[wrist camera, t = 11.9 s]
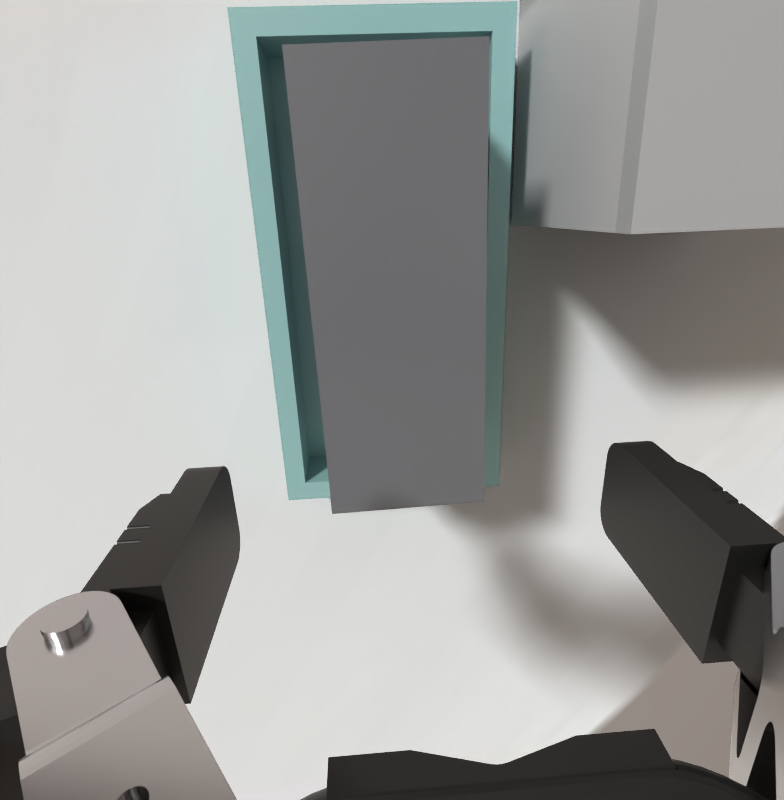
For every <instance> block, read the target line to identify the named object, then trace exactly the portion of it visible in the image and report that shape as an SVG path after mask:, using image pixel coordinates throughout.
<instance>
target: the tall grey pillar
mask: <svg viewBox="0 0 784 800" xmlns="http://www.w3.org/2000/svg"><path fill="white" fill-rule="evenodd" d="M282 49H283V59H284V68H285V77H286V86H287V96H288V105H289V114H290V124H291V133H292V142H293V152H294V161H295V170H296V180H297V189H298V198H299V208H300V217H301V226H302V236H303V245H304V254H305V264H306V273H307V282H308V292H309V301H310V310H311V319H312V329H313V338H314V347H315V357H316V366H317V375H318V385H319V394H320V403H321V413H322V422H323V431H324V441H325V450H326V459H327V469H328V478H329V487H330V497H331V506H332V514H336V513H348V512H361V511H373V510H385V509H397V508H409V507H422V506H434V505H446V504H458V503H471V502H483V501H484V457H485V372H486V287H487V202H488V116H489V36H481V37H457V38H432V39H408V40H383V41H358V42H334V43H309V44H284V45H282Z"/></svg>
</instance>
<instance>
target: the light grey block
mask: <svg viewBox="0 0 784 800" xmlns="http://www.w3.org/2000/svg"><path fill="white" fill-rule="evenodd" d="M511 224H514V225H526V226H538V227H550V228H562V229H574V230H585V231H597V232H609V233H621V234H649V233H671V232H693V231H716V230H738V229H761V228H783V227H784V0H520V21H519V46H518V71H517V97H516V122H515V147H514V172H513V197H512V223H511Z"/></svg>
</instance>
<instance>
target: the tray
mask: <svg viewBox="0 0 784 800" xmlns="http://www.w3.org/2000/svg"><path fill="white" fill-rule="evenodd" d="M228 16H229V24H230V32H231V40H232V48H233V56H234V64H235V72H236V80H237V88H238V96H239V104H240V112H241V120H242V128H243V136H244V144H245V152H246V160H247V168H248V176H249V184H250V192H251V200H252V208H253V216H254V224H255V233H256V241H257V249H258V257H259V265H260V273H261V281H262V289H263V297H264V305H265V313H266V321H267V329H268V337H269V345H270V353H271V361H272V369H273V377H274V385H275V393H276V401H277V409H278V417H279V425H280V433H281V441H282V450H283V458H284V466H285V474H286V482H287V490H288V498H289V500H299V499H313V498H328V497H330V487H329V478H328V469H327V459H326V450H325V441H324V431H323V422H322V413H321V403H320V394H319V385H318V375H317V366H316V357H315V347H314V338H313V329H312V319H311V310H310V301H309V292H308V282H307V273H306V264H305V254H304V245H303V236H302V226H301V217H300V208H299V198H298V189H297V180H296V170H295V161H294V152H293V142H292V133H291V124H290V114H289V105H288V96H287V86H286V77H285V68H284V59H283V49H282V45H284V44H309V43H334V42H358V41H383V40H408V39H432V38H457V37H481V36H489V116H488V202H487V287H486V372H485V457H484V487H488V486H499V469H500V443H501V417H502V391H503V364H504V338H505V312H506V285H507V259H508V233H509V206H510V180H511V154H512V127H513V101H514V75H515V48H516V22H517V1H509V2H463V3H415V4H369V5H321V6H274V7H228Z"/></svg>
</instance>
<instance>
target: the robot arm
mask: <svg viewBox="0 0 784 800" xmlns="http://www.w3.org/2000/svg"><path fill="white" fill-rule="evenodd" d="M601 520H602V525H603V528H604V531H605V533H606V535H607V537H608V538H609V539H610V541H611V542H612V543H613V545H614V546H615V547H616V549H617V550H618V552H619V553H620V554H621V556H622V557H623V558H624V560H625V561H626V562H627V564H628V565H629V566H630V568H631V569H632V570H633V572H634V573H635V574H636V576H637V577H638V578H639V580H640V581H641V582H642V584H643V585H644V586H645V588H646V589H647V590H648V592H649V593H650V594H651V596H652V597H653V598H654V600H655V601H656V602H657V604H658V605H659V606H660V608H661V609H662V610H663V612H664V613H665V615H666V616H667V617H668V619H669V620H670V621H671V623H672V624H673V625H674V627H675V628H676V629H677V631H678V632H679V633H680V635H681V636H682V637H683V639H684V640H685V641H686V643H687V644H688V645H689V647H690V648H691V649H692V650H693V652H694V653H695V655H696V656H697V657H698V659H699V660H700V661H701V663H715V662H725V661H726V662H727V661H733V662H734V663H735V664H736V665H737V667H738V668H739V670H738V673H737V677H736V680H735V685H734V700H733V718H732V735H731V753H730V771H729V778H728V777H725V776H723V775H721V774H718V773H716V772H713V771H711V770H708V769H706V768H703V767H700V766H697V765H693V764H690V763H686V762H683V761H679V760H674V759H671V757H670V756H669V754H668V752H667V750H666V749H665V747H664V745H663V743H662V741H661V740H660V738H659V736H658V734H657V733H656V731H655V729H647V730H636V731H624V732H613V733H601V734H590V735H578V736H574V737H572V738H569V739H566V740H564V741H561V742H559V743H556V744H554V745H551V746H549V747H546V748H544V749H541V750H539V751H536V752H533V753H531V754H528V755H526V756H523V757H521V758H518V759H516V760H513V761H511V762H508V763H505V764H499V765H494V764H486V763H480V762H475V761H469V760H463V759H458V758H452V757H446V756H440V755H435V754H429V753H423V752H418V751H412V750H407V751H396V752H384V753H373V754H362V755H350V756H339V757H329V758H328V777H327V788H325V789H323V790H320V791H317V792H315V793H312V794H310V795H309V796H307V797H305V798H303V799H301V800H784V536H783V535H782V534H780V533H779V532H778V531H777V530H775V529H774V528H773V527H772V526H770V525H769V524H768V523H766V522H765V521H764V520H763V519H761V518H760V517H759V516H757V515H756V514H755V513H754V512H752V511H751V510H750V509H749V508H747V507H746V506H745V505H743V504H739V503H738V500H737V499H736V498H735V497H733V496H732V495H731V494H729V493H728V492H727V491H723V488H722V487H721V486H719V485H718V484H717V483H715V482H714V481H713V480H712V479H710V478H709V477H708V476H707V475H705V474H704V473H702V472H699V471H697V470H695V469H693V468H691V467H688V466H686V465H684V464H682V463H680V462H677V461H676V460H675V459H673V458H672V457H671V456H670V455H668V454H667V453H666V452H665V451H664V450H662V449H661V448H660V447H659V446H657V445H656V444H655V443H653V442H651V441H640V442H624V443H614V444H612V445H611V446H610V448H609V450H608V454H607V461H606V469H605V477H604V485H603V492H602V500H601ZM239 552H240V532H239V526H238V520H237V514H236V508H235V502H234V497H233V491H232V485H231V479H230V475H229V472H228V469H227V468H226V467H225V466H222V467H205V468H189V469H187V470H186V471H185V472H184V473H183V475H182V477H181V478H180V480H179V481H178V483H177V484H176V486H175V488H174V489H173V491H172V492H171V494H160V495H159V496H157V497H156V498H155V499H153V500H152V501H150V502H149V503H148V504H146V505H145V506H144V507H142V508H141V509H139V511H138V512H137V514H136V515H135V516H134V518H133V519H132V521H131V522H130V523H129V525H128V526H127V530H125V531H124V532H123V533H122V535H121V536H120V538H119V539H118V540H117V545H114V546H113V547H112V549H111V550H110V552H109V553H108V554H107V556H106V557H105V559H104V560H103V562H102V563H101V564H100V566H99V567H98V569H97V570H96V571H95V573H94V574H93V576H92V577H91V578H90V580H89V581H88V583H87V584H86V586H85V587H84V588H83V590H82V591H81V593H77V594H73V595H70V596H66V597H64V598H61V599H59V600H56V601H54V602H52V603H50V604H48V605H46V606H45V607H43V608H41V609H39V610H38V611H37V612H35V613H34V614H32V615H31V616H30V617H28V618H27V619H26V620H25V621H24V622H23V623H22V624H21V625H20V626H19V627H18V628H17V629H16V630H15V632H14V633H13V634H12V636H11V638H10V639H9V641H8V644H7V646H4V647H1V648H0V800H237V799H236V797H235V795H234V793H233V792H232V790H231V788H230V786H229V784H228V782H227V781H226V779H225V777H224V775H223V773H222V771H221V770H220V768H219V766H218V764H217V762H216V760H215V758H214V757H213V755H212V753H211V751H210V749H209V747H208V746H207V744H206V742H205V740H204V738H203V736H202V735H201V733H200V731H199V729H198V727H197V725H196V723H195V722H194V720H193V718H192V716H191V714H190V712H189V711H188V709H187V707H186V705H185V704H189V703H191V701H192V698H193V695H194V692H195V689H196V686H197V683H198V680H199V677H200V674H201V671H202V668H203V665H204V662H205V659H206V656H207V653H208V650H209V647H210V644H211V641H212V638H213V635H214V632H215V629H216V626H217V623H218V620H219V617H220V614H221V611H222V608H223V605H224V602H225V599H226V596H227V593H228V590H229V587H230V584H231V581H232V578H233V575H234V572H235V569H236V566H237V562H238V558H239Z"/></svg>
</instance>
